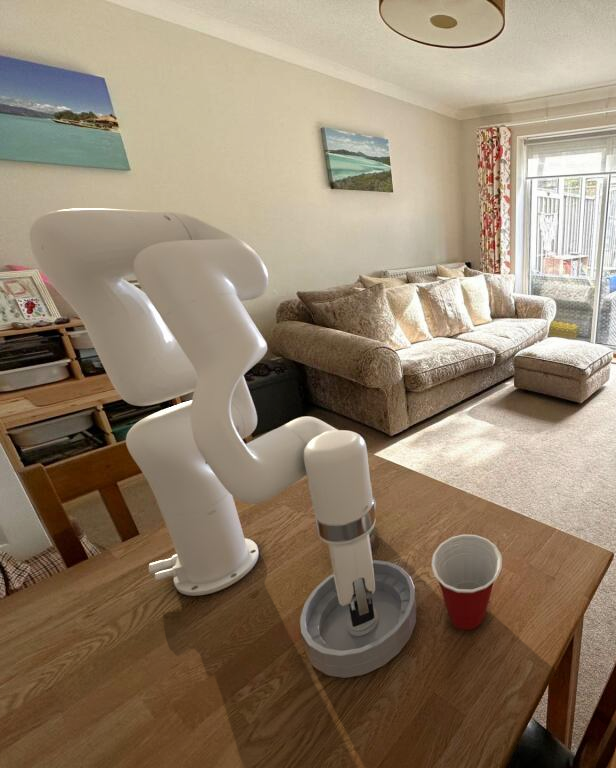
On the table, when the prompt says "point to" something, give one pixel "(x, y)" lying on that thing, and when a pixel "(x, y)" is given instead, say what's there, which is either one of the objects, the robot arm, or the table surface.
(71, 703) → the table surface
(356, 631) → the chess piece
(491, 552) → the plastic cup
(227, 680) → the table surface
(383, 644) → the bowl
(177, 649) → the table surface
